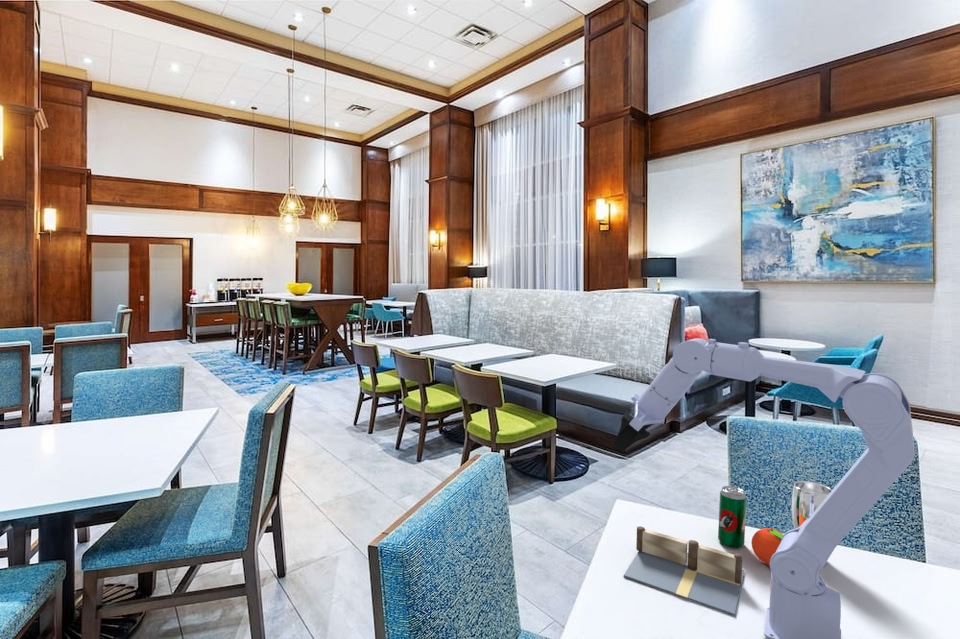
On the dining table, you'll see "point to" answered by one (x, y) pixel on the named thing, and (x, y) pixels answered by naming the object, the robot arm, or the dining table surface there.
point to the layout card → (685, 582)
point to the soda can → (732, 517)
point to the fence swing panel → (661, 545)
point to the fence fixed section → (715, 562)
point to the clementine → (766, 543)
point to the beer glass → (807, 500)
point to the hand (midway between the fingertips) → (624, 440)
